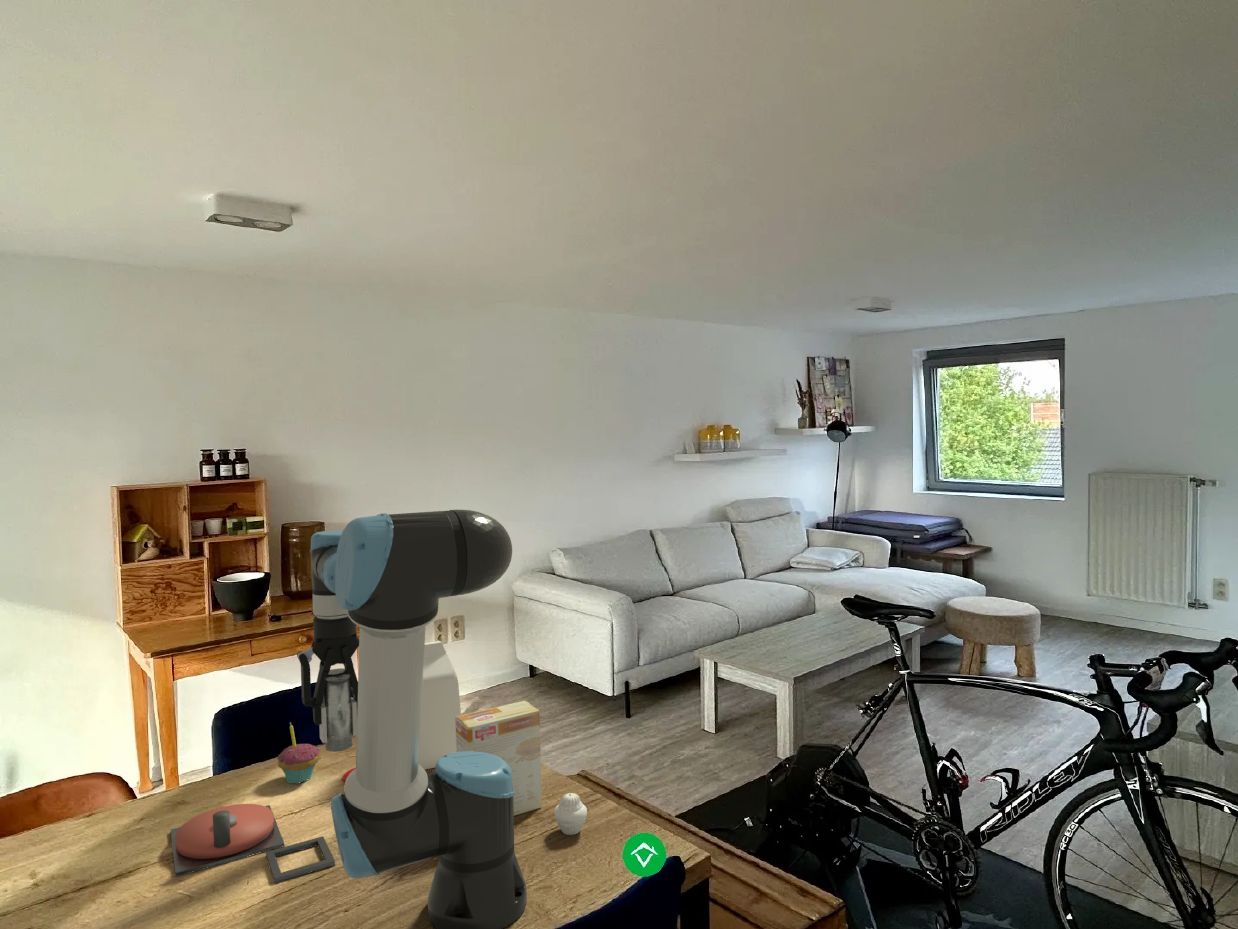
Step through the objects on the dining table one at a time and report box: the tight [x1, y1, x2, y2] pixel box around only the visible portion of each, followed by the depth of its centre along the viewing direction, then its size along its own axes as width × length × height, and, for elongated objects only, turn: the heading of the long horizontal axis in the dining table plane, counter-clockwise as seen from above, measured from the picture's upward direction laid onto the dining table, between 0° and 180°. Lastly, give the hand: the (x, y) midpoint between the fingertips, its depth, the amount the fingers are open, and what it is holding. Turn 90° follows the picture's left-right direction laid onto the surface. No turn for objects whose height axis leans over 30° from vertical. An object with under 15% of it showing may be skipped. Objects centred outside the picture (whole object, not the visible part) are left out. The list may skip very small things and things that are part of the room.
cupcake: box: [276, 722, 322, 784], centre depth 168 cm, size 9×8×12 cm
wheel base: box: [170, 804, 285, 877], centre depth 144 cm, size 17×17×1 cm
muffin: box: [553, 792, 588, 836], centre depth 145 cm, size 6×6×7 cm
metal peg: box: [323, 667, 353, 753], centre depth 148 cm, size 5×5×14 cm
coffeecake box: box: [455, 700, 543, 817], centre depth 153 cm, size 15×7×20 cm, turn 122°
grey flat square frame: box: [265, 836, 336, 884], centre depth 137 cm, size 10×10×1 cm
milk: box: [418, 640, 462, 771], centre depth 178 cm, size 12×12×26 cm
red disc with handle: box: [176, 803, 275, 859], centre depth 144 cm, size 16×16×7 cm
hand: (338, 736), depth 148 cm, fingers closed on metal peg, 5 cm apart
